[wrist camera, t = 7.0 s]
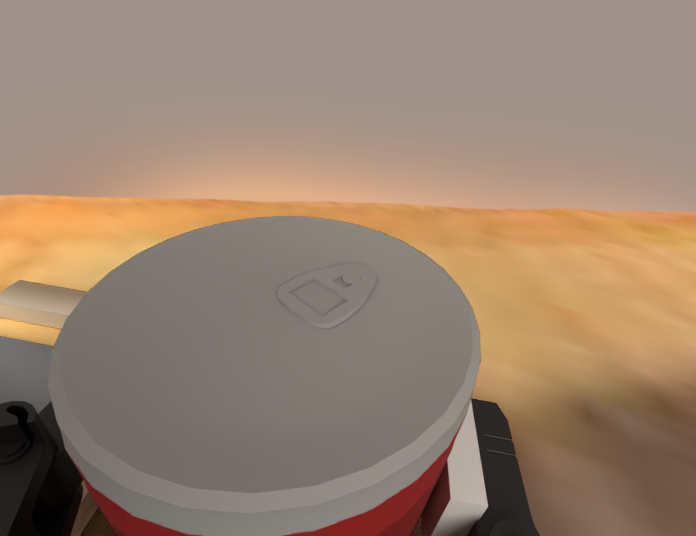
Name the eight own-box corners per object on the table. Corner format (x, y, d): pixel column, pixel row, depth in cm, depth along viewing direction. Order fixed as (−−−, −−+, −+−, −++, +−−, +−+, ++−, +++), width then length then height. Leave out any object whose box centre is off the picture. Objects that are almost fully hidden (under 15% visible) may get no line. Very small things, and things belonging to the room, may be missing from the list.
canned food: (419, 486, 15) (510, 268, 9) (321, 780, 9) (397, 718, 3) (269, 403, 18) (262, 190, 12) (114, 589, 12) (-73, 345, 6)
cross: (132, 224, 31) (128, 210, 30) (391, 265, 29) (394, 253, 28) (-284, 509, 12) (-317, 492, 12) (357, 662, 11) (362, 653, 10)
